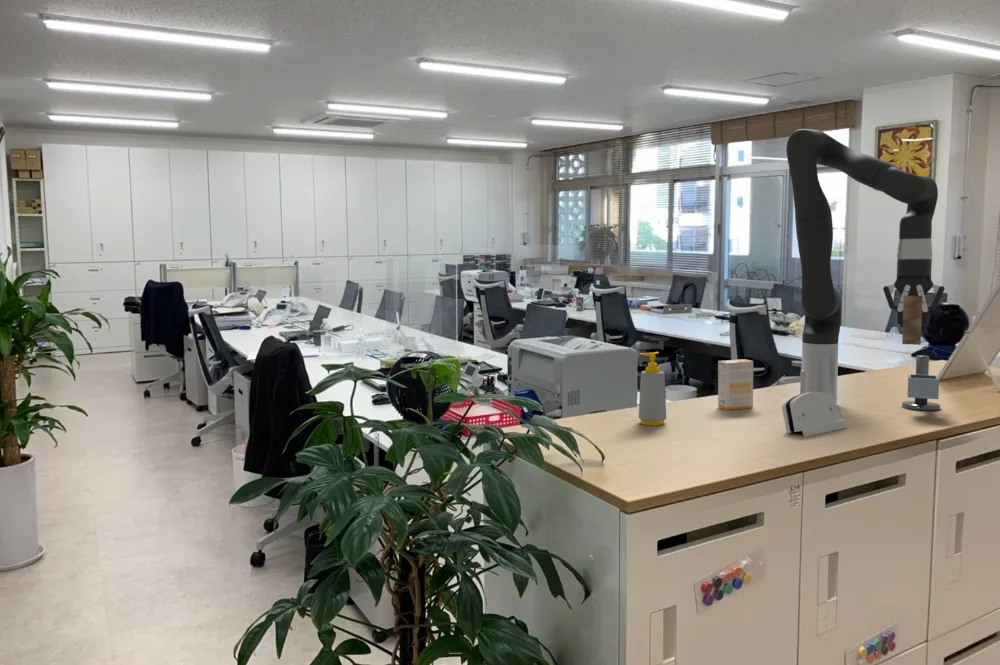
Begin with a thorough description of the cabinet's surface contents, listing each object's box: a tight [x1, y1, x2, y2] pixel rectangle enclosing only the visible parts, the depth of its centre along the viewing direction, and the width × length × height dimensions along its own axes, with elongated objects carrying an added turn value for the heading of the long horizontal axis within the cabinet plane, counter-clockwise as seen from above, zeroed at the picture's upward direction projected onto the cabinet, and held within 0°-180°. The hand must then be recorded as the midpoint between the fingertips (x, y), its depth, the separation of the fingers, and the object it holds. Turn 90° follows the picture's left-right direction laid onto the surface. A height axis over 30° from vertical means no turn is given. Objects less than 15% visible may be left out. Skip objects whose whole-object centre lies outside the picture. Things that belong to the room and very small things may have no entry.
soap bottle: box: [638, 351, 667, 426], centre depth 190 cm, size 7×7×18 cm
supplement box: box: [717, 358, 754, 411], centre depth 208 cm, size 8×5×13 cm, turn 105°
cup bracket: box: [901, 354, 941, 412], centre depth 200 cm, size 9×19×14 cm, turn 152°
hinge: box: [781, 392, 848, 438], centre depth 182 cm, size 17×5×10 cm, turn 122°
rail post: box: [901, 296, 922, 346], centre depth 190 cm, size 4×4×12 cm
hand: (912, 326), depth 190 cm, fingers closed on rail post, 4 cm apart
